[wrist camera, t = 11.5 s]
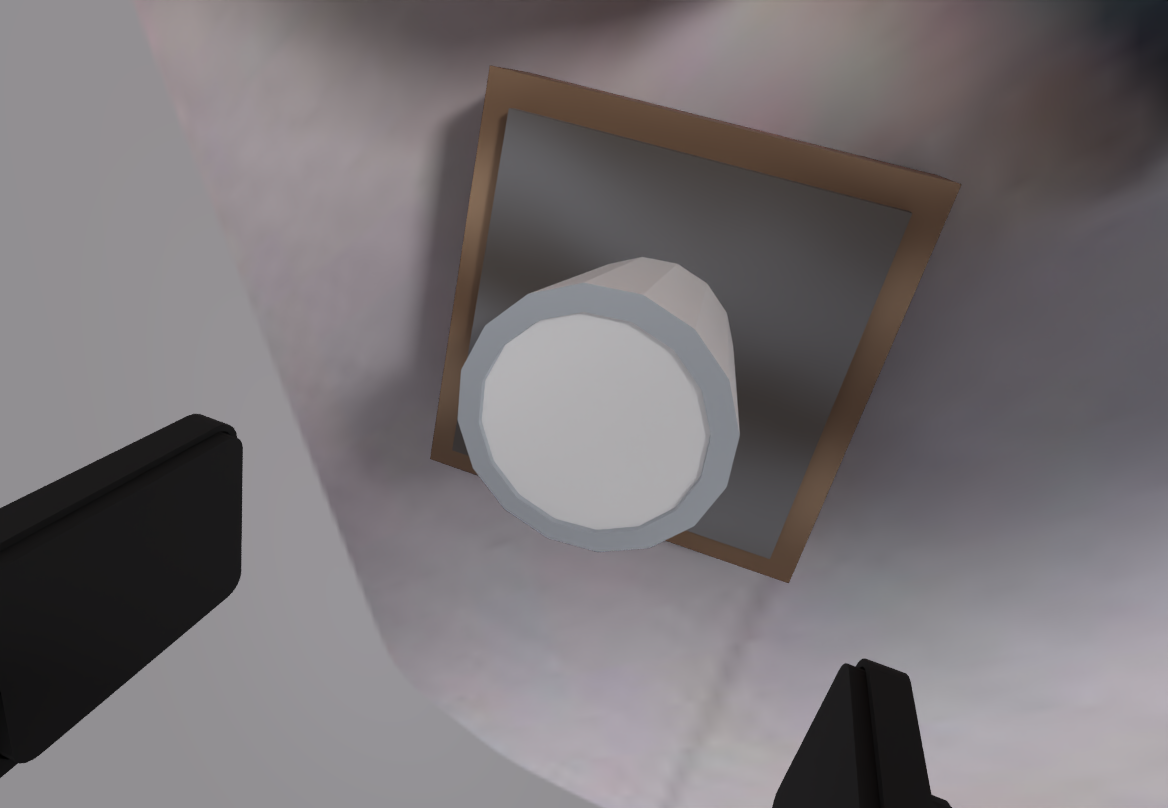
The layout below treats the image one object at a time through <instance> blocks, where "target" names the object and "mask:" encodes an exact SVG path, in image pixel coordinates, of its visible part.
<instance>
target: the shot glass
mask: <svg viewBox="0 0 1168 808" xmlns="http://www.w3.org/2000/svg"><path fill="white" fill-rule="evenodd" d="M458 423H459V426H460V429H461V432H462V435H463V439H464V442H465V445H466V448H467V451H468V454H469V457H470V461H471V464H472V467H473V469H474V470H475V471H476V473H477V474H478V475H479V477H480V478H481V479H482V481H483V482H484V483H485V485H486V486H487V487H488V488H489V490H490V491H491V492H492V494H493V495H494V496H495V498H496V499H497V500H498V502H499V503H500V504H501V505H502V507H503V508H504V509H505V510H506V511H508V512H509V513H511V514H512V515H514V516H515V517H517V518H518V519H520V520H521V521H523V522H524V523H526V524H527V525H529V526H530V527H532V528H533V529H535V530H536V531H538V532H539V533H540V534H542V535H543V536H545V537H546V538H548V539H552V540H555V541H559V542H563V543H566V544H570V545H574V546H577V547H581V548H584V549H588V550H592V551H595V552H607V551H620V550H633V549H647V548H651V547H653V546H655V545H657V544H659V543H661V542H663V541H665V540H667V539H669V538H671V537H673V536H675V535H677V534H679V533H681V532H683V531H685V530H687V529H689V528H691V527H694V526H695V525H696V523H697V522H698V521H699V520H700V519H701V517H702V516H703V515H704V514H705V513H706V511H707V510H708V509H709V508H710V507H711V505H712V504H713V503H714V502H715V501H716V499H717V498H718V497H719V496H720V495H721V493H722V492H723V491H724V490H725V489H726V487H727V484H728V480H729V476H730V472H731V468H732V464H733V460H734V456H735V452H736V449H737V445H738V441H739V437H740V431H739V417H738V404H737V390H736V376H735V363H734V349H733V342H732V337H731V332H730V326H729V321H728V316H727V312H726V311H725V309H724V308H723V306H722V305H721V303H720V302H719V300H718V299H717V297H716V296H715V294H714V293H713V291H712V290H711V288H710V287H709V285H708V284H707V283H706V282H704V281H703V280H701V279H700V278H698V277H697V276H695V275H694V274H692V273H691V272H689V271H688V270H686V269H685V268H683V267H682V266H680V265H679V264H676V263H671V262H666V261H661V260H656V259H651V258H645V257H639V258H635V259H630V260H625V261H621V262H616V263H611V264H607V265H605V266H602V267H599V268H597V269H594V270H591V271H589V272H586V273H583V274H580V275H578V276H575V277H572V278H570V279H567V280H564V281H562V282H559V283H556V284H554V285H551V286H548V287H545V288H543V289H540V290H537V291H535V292H532V293H529V294H527V295H526V296H524V297H523V298H522V299H520V300H519V301H518V302H516V303H515V304H514V305H512V306H511V307H510V308H508V309H507V310H505V311H504V312H503V313H501V314H500V315H499V316H497V317H496V318H495V319H493V320H492V321H490V322H489V323H488V324H486V325H485V327H484V328H483V330H482V332H481V334H480V336H479V338H478V340H477V341H476V343H475V345H474V347H473V349H472V351H471V353H470V354H469V356H468V358H467V360H466V362H465V364H464V366H463V367H462V369H461V379H460V392H459V406H458Z"/></svg>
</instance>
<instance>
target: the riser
mask: <svg viewBox="0 0 1168 808" xmlns="http://www.w3.org/2000/svg"><path fill="white" fill-rule="evenodd" d="M960 187H961V184H959V183H956V182H954V181H951V180H949V179H946V178H943V177H941V176H938V175H934V174H930V173H926V172H922V171H918V170H914V169H910V168H906V167H902V166H898V165H894V164H890V163H886V162H882V161H878V160H874V159H870V158H866V157H862V156H859V155H855V154H851V153H847V152H843V151H839V150H835V149H831V148H827V147H823V146H819V145H815V144H811V143H807V142H803V141H799V140H795V139H791V138H787V137H783V136H779V135H775V134H771V133H767V132H763V131H759V130H755V129H751V128H747V127H743V126H739V125H735V124H731V123H727V122H723V121H719V120H715V119H711V118H707V117H703V116H699V115H695V114H692V113H688V112H684V111H680V110H676V109H672V108H668V107H664V106H660V105H656V104H652V103H648V102H644V101H640V100H636V99H632V98H628V97H624V96H620V95H616V94H612V93H608V92H604V91H600V90H596V89H592V88H588V87H584V86H580V85H576V84H572V83H568V82H564V81H560V80H556V79H552V78H548V77H544V76H540V75H536V74H532V73H528V72H523V71H518V70H512V69H506V68H501V67H495V66H490V68H489V75H488V81H487V88H486V94H485V101H484V108H483V114H482V121H481V127H480V134H479V140H478V147H477V154H476V160H475V167H474V173H473V180H472V187H471V193H470V200H469V206H468V213H467V220H466V226H465V233H464V239H463V246H462V253H461V259H460V266H459V272H458V279H457V285H456V292H455V299H454V305H453V312H452V318H451V325H450V332H449V338H448V345H447V351H446V358H445V365H444V371H443V378H442V384H441V391H440V397H439V404H438V411H437V417H436V424H435V430H434V437H433V444H432V450H431V457H430V459H432V460H435V461H437V462H440V463H443V464H446V465H449V466H452V467H455V468H458V469H461V470H463V471H466V472H469V473H472V474H475V475H478V474H477V473H476V471H475V470H474V469H473V467H472V464H471V461H470V457H469V454H468V451H467V448H466V445H465V442H464V439H463V435H462V432H461V429H460V426H459V423H458V406H459V392H460V379H461V369H462V367H463V366H464V364H465V362H466V360H467V358H468V356H469V354H470V353H471V351H472V349H473V347H474V345H475V343H476V341H477V340H478V338H479V336H480V334H481V332H482V330H483V328H484V327H485V325H486V324H488V323H489V322H490V321H492V320H493V319H495V318H496V317H497V316H499V315H500V314H501V313H503V312H504V311H505V310H507V309H508V308H510V307H511V306H512V305H514V304H515V303H516V302H518V301H519V300H520V299H522V298H523V297H524V296H526V295H527V294H529V293H532V292H535V291H537V290H540V289H543V288H545V287H548V286H551V285H554V284H556V283H559V282H562V281H564V280H567V279H570V278H572V277H575V276H578V275H580V274H583V273H586V272H589V271H591V270H594V269H597V268H599V267H602V266H605V265H607V264H611V263H616V262H621V261H625V260H630V259H635V258H639V257H645V258H651V259H656V260H661V261H666V262H671V263H676V264H679V265H680V266H682V267H683V268H685V269H686V270H688V271H689V272H691V273H692V274H694V275H695V276H697V277H698V278H700V279H701V280H703V281H704V282H706V283H707V284H708V285H709V287H710V288H711V290H712V291H713V293H714V294H715V296H716V297H717V299H718V300H719V302H720V303H721V305H722V306H723V308H724V309H725V311H726V312H727V316H728V321H729V326H730V332H731V337H732V342H733V349H734V363H735V376H736V390H737V404H738V417H739V431H740V437H739V441H738V445H737V449H736V452H735V456H734V460H733V464H732V468H731V472H730V476H729V480H728V484H727V487H726V489H725V490H724V491H723V492H722V493H721V495H720V496H719V497H718V498H717V499H716V501H715V502H714V503H713V504H712V505H711V507H710V508H709V509H708V510H707V511H706V513H705V514H704V515H703V516H702V517H701V519H700V520H699V521H698V522H697V523H696V525H695V526H694V527H691V528H689V529H687V530H685V531H683V532H681V533H679V534H677V535H675V536H673V537H671V538H669V539H667V540H665V541H668V542H671V543H674V544H677V545H680V546H683V547H686V548H688V549H691V550H694V551H697V552H700V553H703V554H706V555H709V556H711V557H714V558H717V559H720V560H723V561H726V562H729V563H732V564H735V565H737V566H740V567H743V568H746V569H749V570H752V571H755V572H758V573H760V574H763V575H766V576H769V577H772V578H775V579H778V580H781V581H784V582H786V583H789V581H790V579H791V577H792V574H793V572H794V570H795V568H796V565H797V563H798V561H799V558H800V556H801V554H802V551H803V549H804V547H805V544H806V542H807V540H808V538H809V535H810V533H811V531H812V528H813V526H814V524H815V521H816V519H817V517H818V514H819V512H820V510H821V508H822V505H823V503H824V501H825V498H826V496H827V494H828V491H829V489H830V487H831V484H832V482H833V480H834V478H835V475H836V473H837V471H838V468H839V466H840V464H841V461H842V459H843V457H844V454H845V452H846V450H847V448H848V445H849V443H850V441H851V438H852V436H853V434H854V431H855V429H856V427H857V424H858V422H859V420H860V418H861V415H862V413H863V411H864V408H865V406H866V404H867V401H868V399H869V397H870V394H871V392H872V390H873V388H874V385H875V383H876V381H877V378H878V376H879V374H880V371H881V369H882V367H883V364H884V362H885V360H886V358H887V355H888V353H889V351H890V348H891V346H892V344H893V341H894V339H895V337H896V334H897V332H898V330H899V328H900V325H901V323H902V321H903V318H904V316H905V314H906V311H907V309H908V307H909V304H910V302H911V300H912V298H913V295H914V293H915V291H916V288H917V286H918V284H919V281H920V279H921V277H922V274H923V272H924V270H925V268H926V265H927V263H928V261H929V258H930V256H931V254H932V251H933V249H934V247H935V244H936V242H937V240H938V238H939V235H940V233H941V231H942V228H943V226H944V224H945V221H946V219H947V217H948V214H949V212H950V210H951V208H952V205H953V203H954V201H955V198H956V196H957V194H958V191H959V189H960ZM478 476H479V475H478Z"/></svg>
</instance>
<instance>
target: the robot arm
mask: <svg viewBox="0 0 1168 808" xmlns="http://www.w3.org/2000/svg"><path fill="white" fill-rule="evenodd" d="M242 455H243V447H242V443H241V441H240V440H239V439H238V438H237V436H236V431H235V430H234V428H233V427H231V426H230V425H228V424H225V423H223V422H219V421H217V420H214V419H212V418H209V417H206V416H204V415H201V414H192V415H189V416H187V417H184V418H183V419H180V420H178V421H176V422H175V423H172V424H170V425H168V426H166V427H164V428H162V429H160V430H158V431H156V432H154V433H152V434H150V435H148V436H146V437H144V438H142V439H140V440H138V441H136V442H134V443H132V444H130V445H128V446H126V447H124V448H122V449H120V450H118V451H115V452H114V453H111V454H109V455H108V456H105V457H103V458H102V459H99V460H97V461H95V462H93V463H91V464H89V465H87V466H85V467H83V468H81V469H79V470H77V471H75V472H73V473H71V474H69V475H67V476H65V477H63V478H61V479H59V480H57V481H55V482H53V483H51V484H49V485H47V486H44V487H43V488H40V489H38V490H37V491H34V492H32V493H30V494H28V495H26V496H24V497H22V498H20V499H18V500H16V501H14V502H12V503H10V504H8V505H6V506H4V507H2V508H0V778H1V777H2V776H3V775H4V774H6V773H7V772H8V771H9V770H10V769H12V768H13V767H14V766H15V765H16V764H18V763H26V762H28V761H30V760H33V759H34V758H36V757H37V756H39V755H40V754H41V753H42V752H43V751H45V750H46V749H47V748H48V747H50V746H51V745H52V744H53V743H54V742H55V741H57V740H58V739H59V738H60V737H62V736H63V735H64V734H65V733H66V732H67V731H69V730H70V729H71V728H72V727H73V726H75V725H76V724H77V723H78V722H79V721H80V720H81V719H83V718H84V717H85V716H87V715H88V714H89V713H90V712H91V711H92V710H94V709H95V708H96V707H97V706H98V705H100V704H101V703H102V702H103V701H104V700H105V699H107V698H108V697H109V696H110V695H112V694H113V693H114V692H115V691H116V690H117V689H119V688H120V687H121V686H122V685H123V684H125V683H126V682H127V681H128V680H129V679H131V678H132V677H133V676H134V675H135V674H137V673H138V671H140V670H141V669H142V668H144V667H145V666H146V665H147V664H148V663H150V662H151V661H152V660H153V659H154V658H156V657H157V656H158V655H159V654H160V653H162V652H163V650H165V649H166V648H167V647H169V646H170V645H171V644H172V643H173V642H175V641H176V640H177V639H178V638H179V637H181V636H182V635H183V634H184V633H185V632H187V631H188V630H189V629H190V628H191V627H192V626H194V625H195V624H196V623H197V622H198V621H200V620H201V619H202V618H203V617H204V616H206V615H207V614H208V613H209V612H210V611H211V610H213V609H214V608H215V607H216V606H217V605H219V604H220V603H221V602H222V601H223V600H225V599H226V598H227V597H228V596H229V595H230V594H231V593H232V592H233V590H234V589H235V588H236V586H237V584H238V582H239V579H240V576H241V539H242V537H241V536H242V460H243V459H242V457H243V456H242ZM772 808H952V807H951V806H950V805H949V803H948V802H947V801H946V800H943V799H941V798H938V797H936V796H933V795H931V790H930V785H929V780H928V774H927V769H926V763H925V758H924V752H923V747H922V741H921V736H920V730H919V725H918V719H917V714H916V709H915V703H914V698H913V692H912V687H911V682H910V679H909V676H908V675H907V674H906V673H903V672H900V671H898V670H895V669H892V668H889V667H887V666H884V665H881V664H879V663H876V662H873V661H870V660H868V659H861V660H860V661H859V662H858V664H857V665H856V667H855V666H852V665H849V664H847V663H846V664H843V665H842V666H841V668H840V670H839V671H838V673H837V675H836V677H835V679H834V681H833V683H832V685H831V687H830V689H829V691H828V693H827V695H826V697H825V699H824V701H823V703H822V705H821V707H820V709H819V711H818V712H817V714H816V716H815V718H814V720H813V722H812V724H811V726H810V728H809V730H808V732H807V734H806V736H805V738H804V740H803V742H802V744H801V746H800V748H799V750H798V752H797V754H796V756H795V757H794V759H793V761H792V763H791V765H790V767H789V769H788V771H787V773H786V775H785V777H784V779H783V781H782V783H781V785H780V787H779V789H778V791H777V793H776V796H775V799H774V803H773V807H772Z"/></svg>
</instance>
